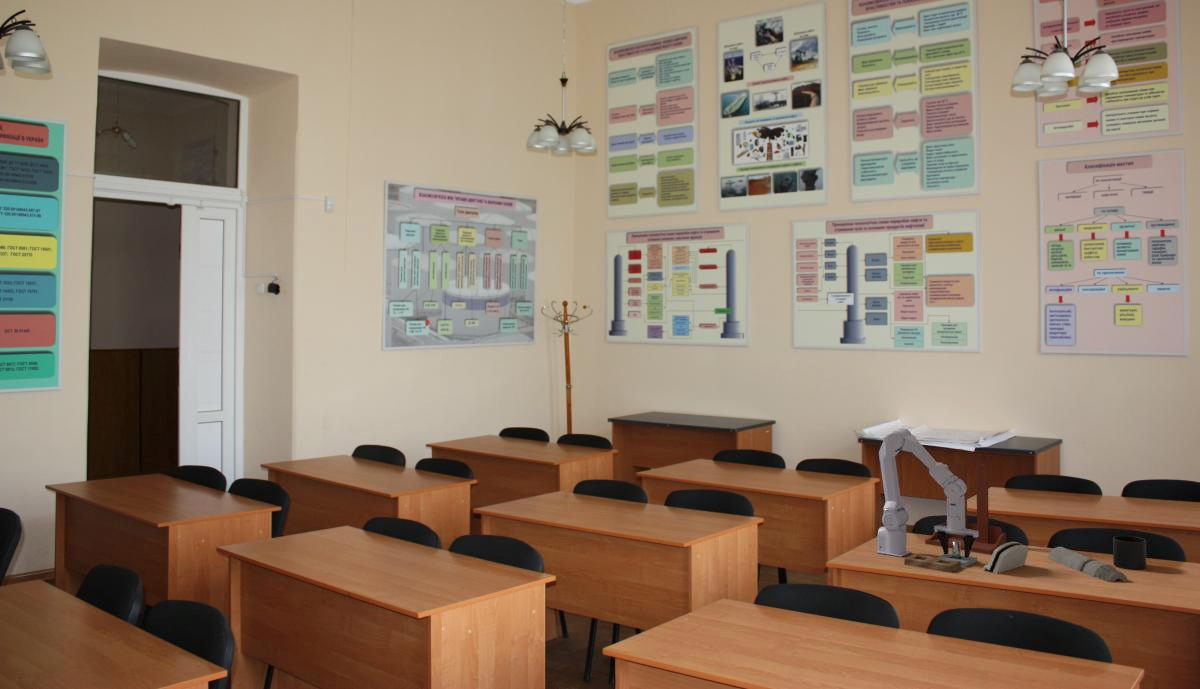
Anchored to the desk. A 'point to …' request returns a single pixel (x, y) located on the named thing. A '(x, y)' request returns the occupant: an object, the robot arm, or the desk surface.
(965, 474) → the hanging shelf
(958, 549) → the peg
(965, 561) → the socket block
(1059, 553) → the grey elongated piece
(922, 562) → the rack
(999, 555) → the grey arched plastic casing
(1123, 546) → the mug
